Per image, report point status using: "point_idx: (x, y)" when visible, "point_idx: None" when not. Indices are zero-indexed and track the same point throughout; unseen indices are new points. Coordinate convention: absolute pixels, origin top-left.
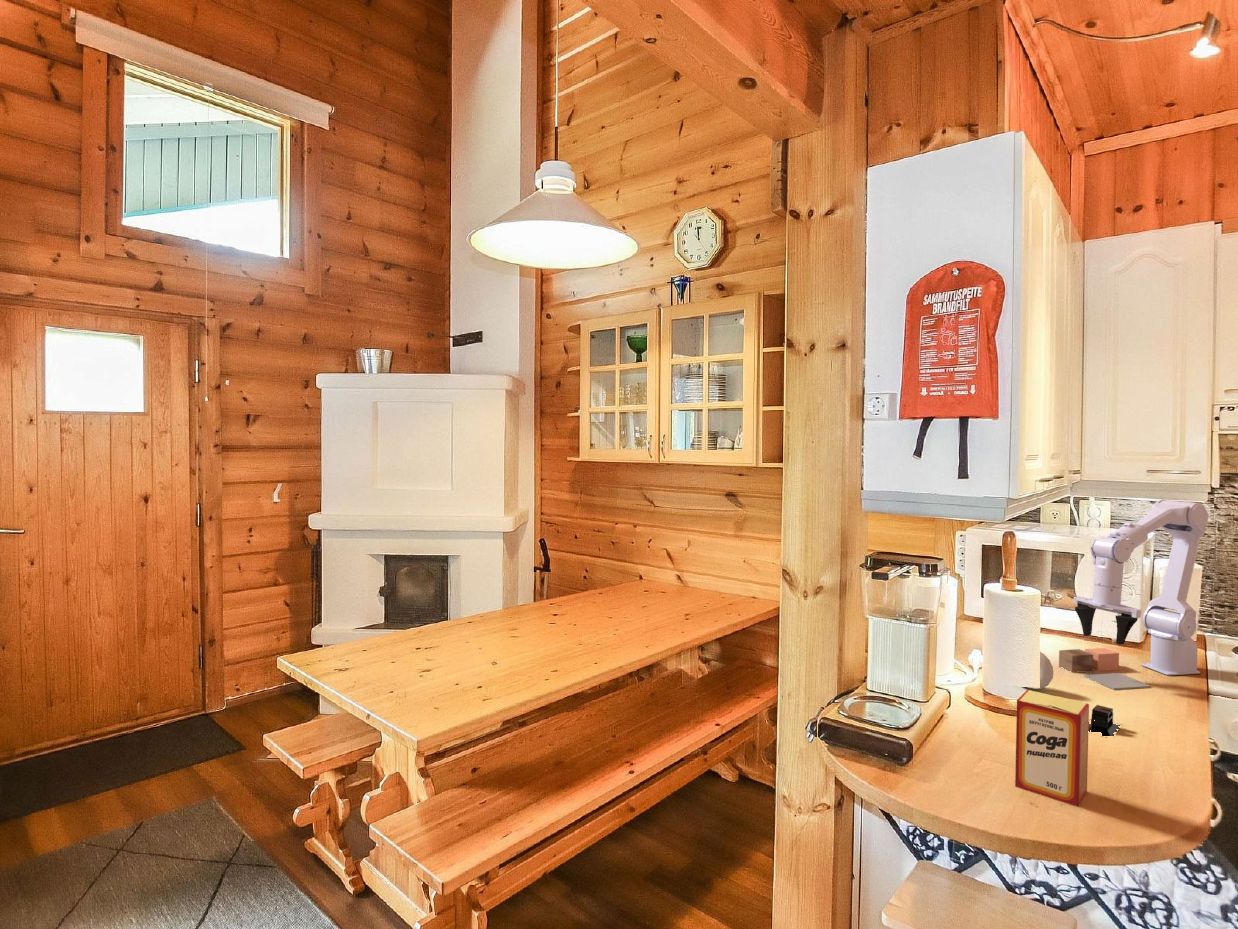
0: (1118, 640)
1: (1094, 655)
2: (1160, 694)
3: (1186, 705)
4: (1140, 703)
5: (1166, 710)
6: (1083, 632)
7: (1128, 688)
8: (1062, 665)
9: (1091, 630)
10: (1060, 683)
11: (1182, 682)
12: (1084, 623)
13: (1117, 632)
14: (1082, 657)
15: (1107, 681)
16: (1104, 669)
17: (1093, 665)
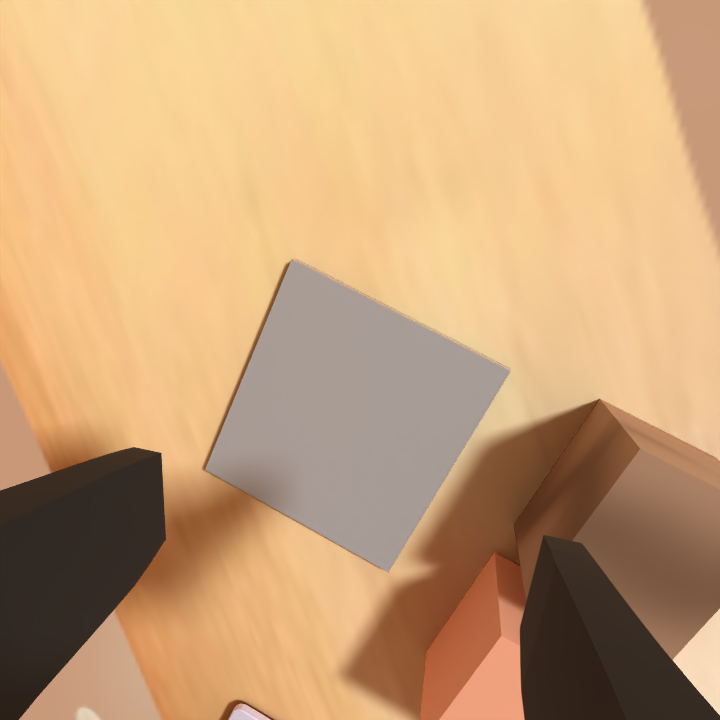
0: (97, 459)
1: None
2: (142, 395)
3: (19, 325)
4: (122, 149)
5: (19, 158)
6: (595, 566)
7: (256, 350)
8: (691, 449)
9: (524, 701)
10: (568, 74)
11: (172, 649)
12: (629, 695)
13: (3, 514)
14: (576, 518)
15: (365, 362)
16: (471, 590)
17: None
